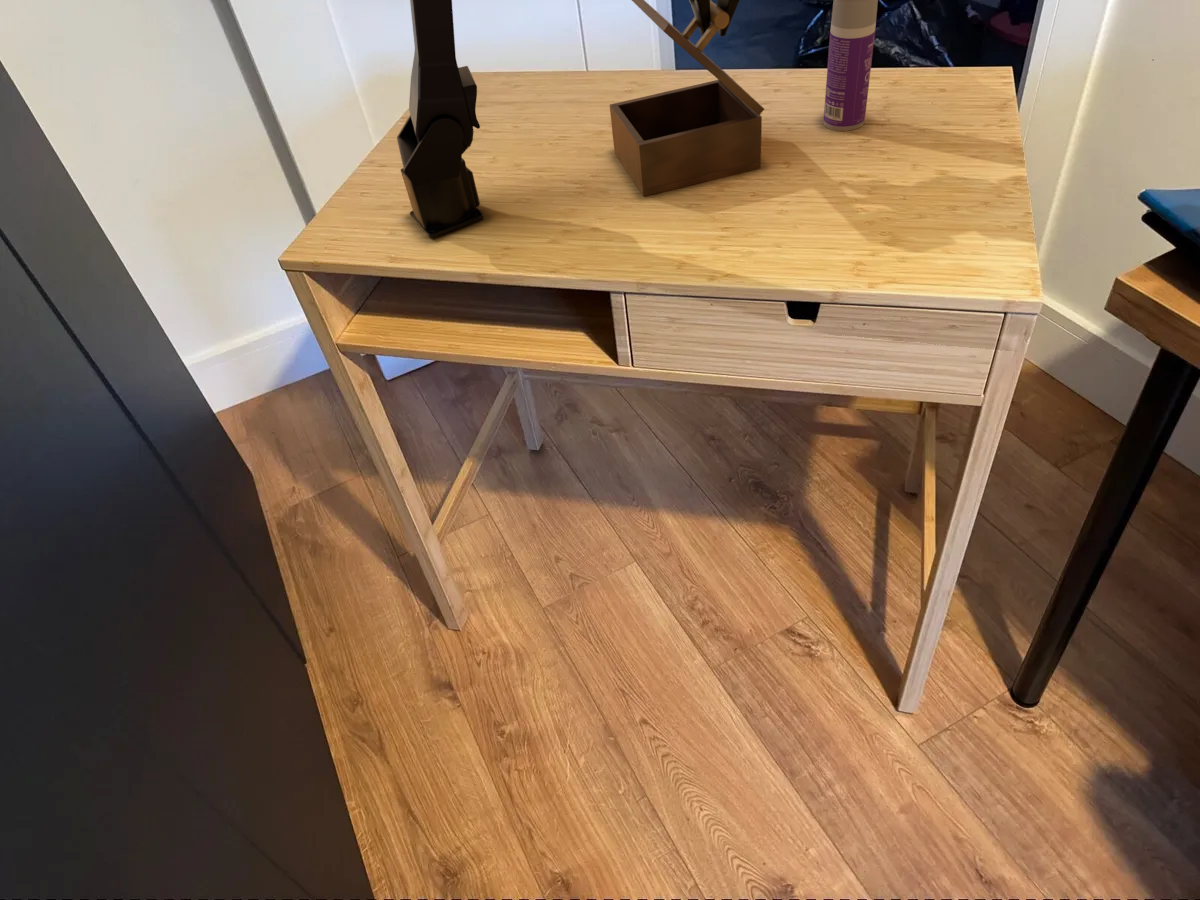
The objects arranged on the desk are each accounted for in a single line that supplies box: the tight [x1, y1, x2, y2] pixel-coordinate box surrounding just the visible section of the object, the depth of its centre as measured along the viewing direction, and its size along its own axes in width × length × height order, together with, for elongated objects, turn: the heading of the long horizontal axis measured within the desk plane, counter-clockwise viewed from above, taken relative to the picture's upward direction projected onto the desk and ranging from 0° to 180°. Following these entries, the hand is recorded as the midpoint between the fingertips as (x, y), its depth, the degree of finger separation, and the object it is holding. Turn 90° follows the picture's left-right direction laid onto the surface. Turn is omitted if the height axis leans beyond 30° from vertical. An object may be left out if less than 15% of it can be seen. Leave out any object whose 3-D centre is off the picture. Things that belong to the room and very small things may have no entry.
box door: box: [631, 0, 765, 115], centre depth 85 cm, size 14×12×5 cm
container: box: [822, 0, 879, 132], centre depth 91 cm, size 5×5×15 cm
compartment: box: [609, 79, 763, 197], centre depth 92 cm, size 14×12×6 cm
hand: (713, 36), depth 85 cm, fingers closed on box door
